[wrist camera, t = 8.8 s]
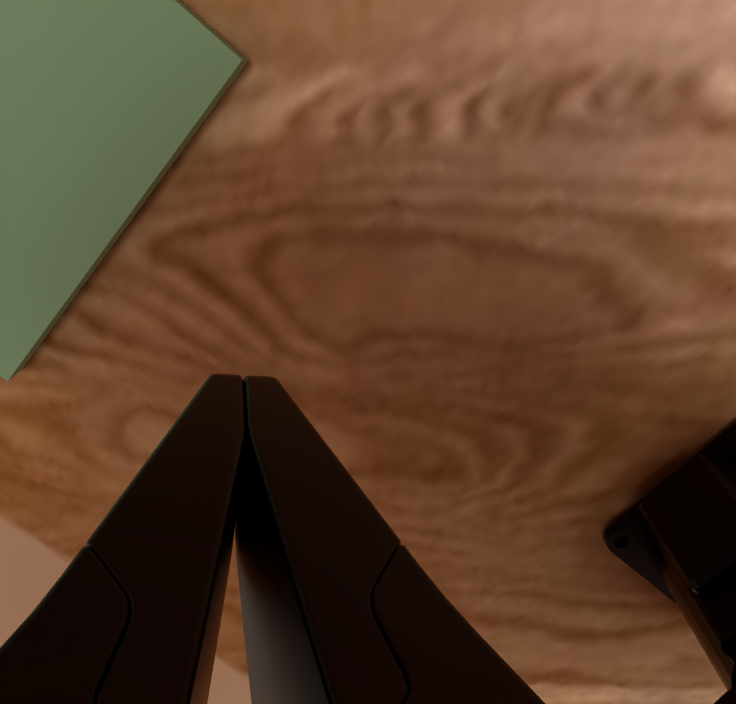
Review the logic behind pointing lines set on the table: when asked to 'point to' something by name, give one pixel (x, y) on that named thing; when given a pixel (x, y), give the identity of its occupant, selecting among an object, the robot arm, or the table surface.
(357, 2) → the table surface
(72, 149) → the putting mat
